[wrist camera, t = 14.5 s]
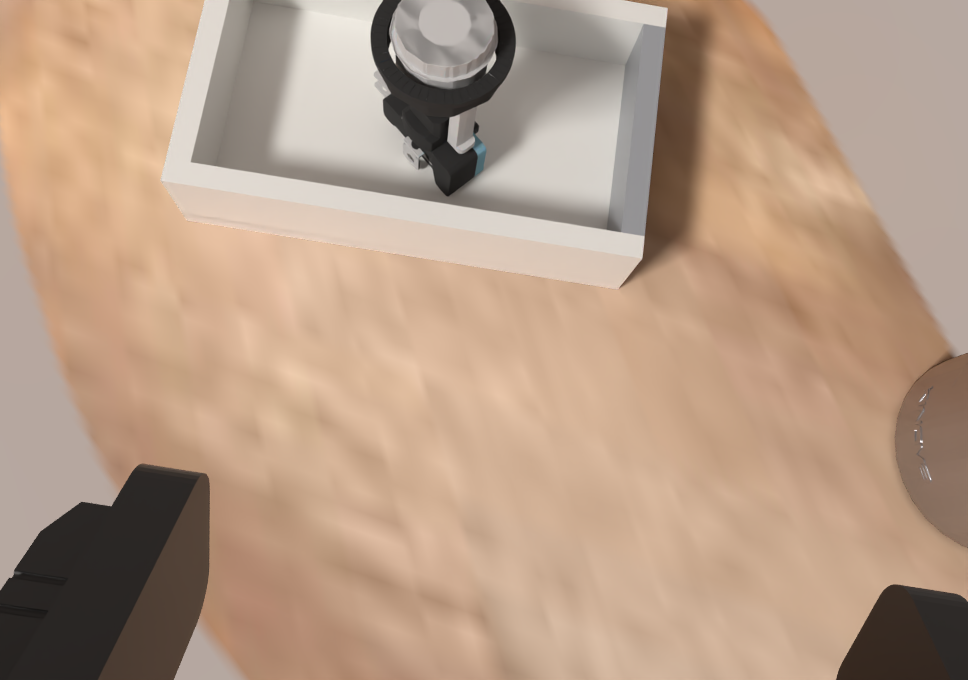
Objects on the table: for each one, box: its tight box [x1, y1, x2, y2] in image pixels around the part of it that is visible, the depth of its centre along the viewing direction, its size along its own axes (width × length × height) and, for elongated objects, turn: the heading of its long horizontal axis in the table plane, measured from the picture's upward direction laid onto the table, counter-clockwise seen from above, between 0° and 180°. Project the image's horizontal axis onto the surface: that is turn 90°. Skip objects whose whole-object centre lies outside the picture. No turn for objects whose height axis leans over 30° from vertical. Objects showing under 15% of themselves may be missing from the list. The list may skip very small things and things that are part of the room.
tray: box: [161, 0, 668, 290], centre depth 40 cm, size 20×12×4 cm, turn 82°
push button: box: [370, 0, 516, 196], centre depth 37 cm, size 7×5×10 cm
